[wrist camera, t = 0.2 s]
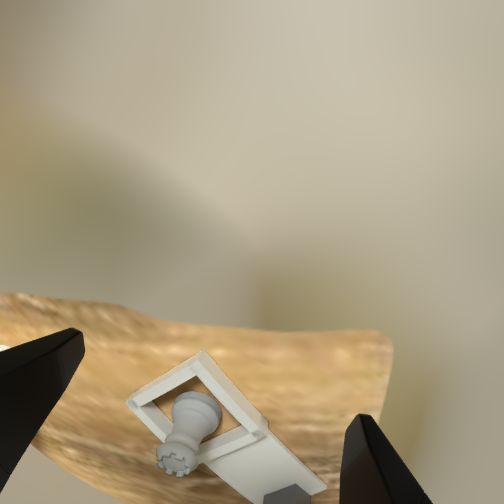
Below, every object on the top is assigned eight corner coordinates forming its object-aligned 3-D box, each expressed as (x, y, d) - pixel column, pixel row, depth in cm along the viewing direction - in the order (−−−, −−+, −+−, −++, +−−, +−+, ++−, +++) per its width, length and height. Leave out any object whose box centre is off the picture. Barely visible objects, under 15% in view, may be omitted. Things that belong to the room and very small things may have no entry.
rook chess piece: (180, 425, 26) (153, 481, 18) (170, 387, 26) (136, 441, 18) (226, 427, 26) (208, 488, 18) (218, 388, 25) (196, 447, 17)
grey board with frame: (261, 509, 27) (258, 532, 23) (133, 391, 26) (116, 413, 22) (330, 483, 26) (333, 508, 22) (203, 349, 25) (191, 370, 21)
